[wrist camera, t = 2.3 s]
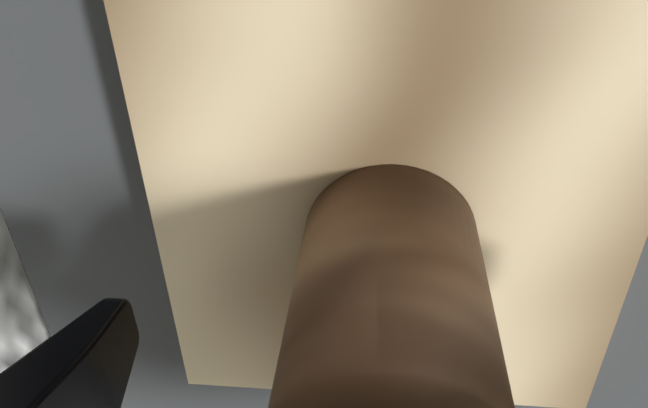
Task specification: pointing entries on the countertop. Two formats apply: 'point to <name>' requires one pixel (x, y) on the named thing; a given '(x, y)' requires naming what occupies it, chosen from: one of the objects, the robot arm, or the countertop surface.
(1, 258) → the countertop surface
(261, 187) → the lid
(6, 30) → the mat
